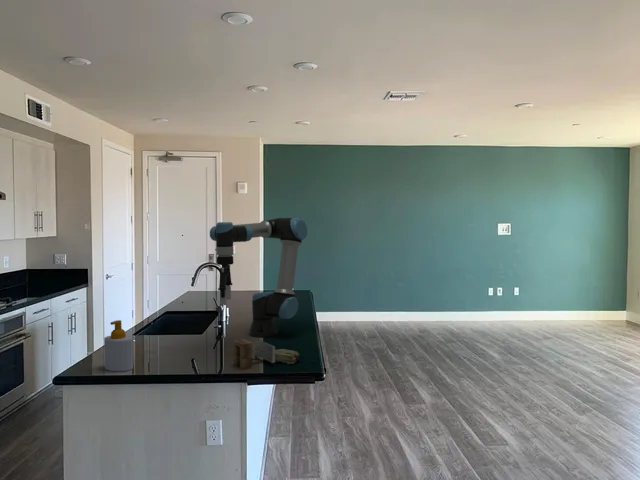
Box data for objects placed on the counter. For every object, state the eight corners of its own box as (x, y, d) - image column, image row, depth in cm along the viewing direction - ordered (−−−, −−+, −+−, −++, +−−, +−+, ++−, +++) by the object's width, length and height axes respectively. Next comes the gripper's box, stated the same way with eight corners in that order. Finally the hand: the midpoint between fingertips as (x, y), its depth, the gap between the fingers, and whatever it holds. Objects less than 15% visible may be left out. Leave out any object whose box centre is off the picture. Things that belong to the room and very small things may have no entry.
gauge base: (254, 357, 208) (254, 334, 207) (268, 363, 198) (268, 339, 198) (230, 362, 200) (229, 338, 200) (242, 369, 191) (242, 344, 190)
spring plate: (258, 354, 206) (258, 339, 206) (275, 362, 195) (274, 346, 195) (238, 359, 200) (238, 343, 200) (254, 367, 189) (254, 350, 189)
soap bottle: (99, 369, 191) (98, 321, 190) (114, 363, 199) (113, 317, 198) (123, 373, 186) (122, 324, 186) (138, 367, 194) (137, 320, 193)
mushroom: (264, 363, 199) (264, 351, 199) (274, 357, 208) (273, 345, 208) (294, 366, 195) (294, 354, 194) (303, 360, 204) (303, 348, 203)
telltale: (256, 358, 206) (256, 348, 205) (257, 358, 205) (257, 349, 205) (253, 358, 205) (253, 349, 204) (254, 359, 204) (254, 349, 204)
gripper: (221, 253, 220) (222, 297, 221) (211, 258, 195) (212, 307, 196) (236, 253, 221) (237, 297, 222) (229, 258, 196) (230, 307, 197)
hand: (225, 302), depth 209 cm, fingers open, 13 cm apart
